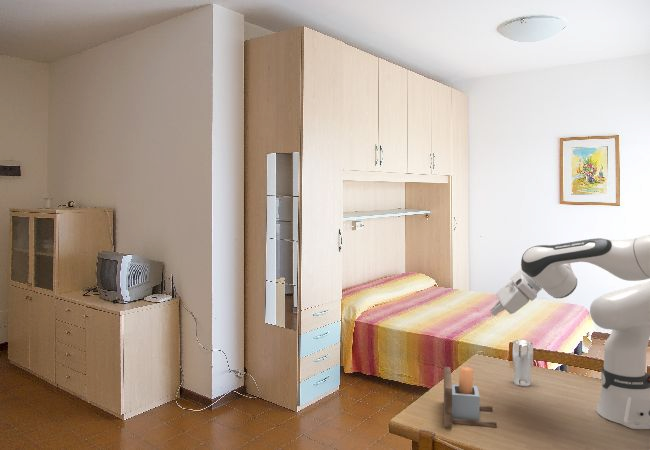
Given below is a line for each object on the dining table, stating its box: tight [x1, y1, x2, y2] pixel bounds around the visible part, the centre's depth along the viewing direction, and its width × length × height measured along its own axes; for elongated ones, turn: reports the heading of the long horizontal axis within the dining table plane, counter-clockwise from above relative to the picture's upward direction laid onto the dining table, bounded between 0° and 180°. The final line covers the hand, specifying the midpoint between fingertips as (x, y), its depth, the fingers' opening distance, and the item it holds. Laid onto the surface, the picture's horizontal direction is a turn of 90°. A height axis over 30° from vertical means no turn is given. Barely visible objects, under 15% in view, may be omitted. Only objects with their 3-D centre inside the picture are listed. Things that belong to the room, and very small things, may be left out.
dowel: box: [458, 366, 474, 395], centre depth 156 cm, size 4×4×14 cm
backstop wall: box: [443, 366, 498, 429], centre depth 155 cm, size 15×18×12 cm
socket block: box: [452, 383, 481, 421], centre depth 156 cm, size 8×8×8 cm
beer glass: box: [511, 339, 534, 387], centre depth 181 cm, size 7×7×15 cm
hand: (492, 313), depth 166 cm, fingers closed
